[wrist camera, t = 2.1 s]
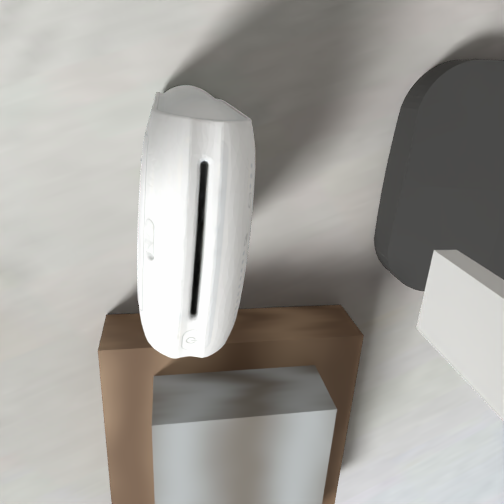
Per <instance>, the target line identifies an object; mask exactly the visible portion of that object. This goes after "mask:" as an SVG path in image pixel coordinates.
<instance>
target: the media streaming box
mask: <svg viewBox="0 0 504 504" xmlns="http://www.w3.org/2000/svg"><path fill="white" fill-rule="evenodd" d="M374 244H375V250H376V253H377V256H378V258H379V260H380V262H381V263H382V264H383V266H384V267H385V268H386V269H387V270H388V271H390V272H391V273H392V274H393V275H394V276H395V277H396V278H397V279H398V280H400V281H401V282H402V283H403V284H405V285H406V286H408V287H410V288H413V289H415V290H419V291H425V287H426V283H427V278H428V274H429V269H430V265H431V260H432V256H433V252H434V250H458V251H459V252H461V253H463V254H464V255H466V256H467V257H469V258H470V259H472V260H473V261H475V262H477V263H478V264H480V265H481V266H483V267H484V268H486V269H488V270H489V271H491V272H492V273H494V274H495V275H497V276H498V277H500V278H502V279H503V280H504V60H481V59H473V60H453V61H449V62H445V63H443V64H440V65H438V66H436V67H434V68H433V69H431V70H430V71H428V72H427V73H426V74H424V75H423V76H422V77H421V78H420V79H419V80H418V81H417V82H416V83H415V84H414V86H413V87H412V88H411V90H410V91H409V93H408V94H407V96H406V98H405V100H404V102H403V104H402V106H401V109H400V113H399V117H398V121H397V125H396V129H395V133H394V137H393V141H392V145H391V150H390V154H389V159H388V163H387V168H386V173H385V178H384V183H383V188H382V193H381V199H380V204H379V210H378V216H377V223H376V229H375V237H374Z"/></svg>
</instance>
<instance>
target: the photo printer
mask: <svg viewBox="0 0 504 504" xmlns="http://www.w3.org/2000/svg"><path fill="white" fill-rule="evenodd" d="M254 183H255V140H254V132H253V125H252V120H251V119H250V118H249V117H248V116H246V115H245V114H243V113H242V112H241V111H239V110H238V109H236V108H235V107H233V106H232V105H230V104H229V103H227V102H225V101H224V100H222V99H216V98H214V97H213V96H212V95H210V94H209V93H208V92H206V91H204V90H203V89H201V88H198V87H196V86H191V85H181V86H176V87H173V88H171V89H169V90H168V91H166V92H165V93H160V92H157V93H156V94H155V98H154V101H153V105H152V109H151V113H150V116H149V120H148V124H147V128H146V132H145V136H144V142H143V150H142V158H141V172H140V188H139V208H138V238H137V291H138V304H139V311H140V318H141V323H142V326H143V330H144V333H145V336H146V339H147V340H148V342H149V343H150V344H151V346H152V347H153V348H154V349H155V350H157V351H158V352H160V353H161V354H163V355H165V356H167V357H170V358H181V357H186V356H194V357H200V358H204V357H208V356H210V355H212V354H214V353H215V352H217V351H218V350H219V349H221V348H222V347H223V345H224V344H225V343H226V341H227V339H228V337H229V335H230V333H231V330H232V328H233V326H234V323H235V320H236V317H237V313H238V309H239V304H240V299H241V294H242V289H243V283H244V277H245V271H246V264H247V257H248V249H249V240H250V232H251V221H252V211H253V198H254Z"/></svg>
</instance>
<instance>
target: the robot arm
mask: <svg viewBox="0 0 504 504" xmlns="http://www.w3.org/2000/svg"><path fill="white" fill-rule="evenodd" d="M416 329H417V330H418V331H419V332H420V333H421V334H422V335H423V336H424V337H425V338H426V340H427V341H428V342H429V343H430V344H431V345H432V346H433V347H434V348H435V349H436V350H437V351H438V352H439V353H440V354H441V356H442V357H443V358H444V359H445V360H446V361H447V362H448V363H449V364H450V365H451V366H452V367H453V368H454V369H455V371H456V372H457V373H458V374H459V375H460V376H461V377H462V378H463V379H464V380H465V381H466V382H467V383H468V384H469V385H470V387H471V388H472V389H473V390H474V391H475V392H476V393H477V394H478V395H479V396H480V397H481V398H482V399H483V400H484V401H485V403H486V404H487V405H488V406H489V407H490V408H491V409H492V410H493V411H494V412H495V413H496V414H497V415H498V416H499V418H500V419H501V420H502V421H503V422H504V280H503V279H502V278H500V277H498V276H497V275H495V274H494V273H492V272H491V271H489V270H488V269H486V268H484V267H483V266H481V265H480V264H478V263H477V262H475V261H473V260H472V259H470V258H469V257H467V256H466V255H464V254H463V253H461V252H459V251H458V250H434V252H433V256H432V260H431V265H430V269H429V274H428V278H427V283H426V287H425V291H424V296H423V300H422V305H421V309H420V313H419V318H418V322H417V327H416Z"/></svg>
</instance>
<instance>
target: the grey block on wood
mask: <svg viewBox="0 0 504 504" xmlns="http://www.w3.org/2000/svg"><path fill="white" fill-rule="evenodd" d="M363 337H364V335H363V334H362V333H361V331H360V330H359V329H358V327H357V326H356V325H355V323H354V322H353V321H352V319H351V318H350V316H349V315H348V314H347V312H346V311H345V310H344V308H343V307H342V306H341V305H324V306H300V307H276V308H252V309H238V313H237V317H236V320H235V323H234V326H233V328H232V330H231V333H230V335H229V337H228V339H227V341H226V343H225V344H224V345H223V347H222V348H221V349H219V350H218V351H217V352H215V353H214V354H212V355H210V356H208V357H204V358H200V357H194V356H186V357H181V358H170V357H167V356H165V355H163V354H161V353H160V352H158V351H157V350H155V349H154V348H153V347H152V346H151V344H150V343H149V342H148V340H147V339H146V336H145V333H144V330H143V326H142V323H141V318H140V313H134V314H110V315H106V319H105V323H104V327H103V331H102V336H101V340H100V344H99V348H98V357H99V368H100V379H101V390H102V401H103V412H104V423H105V434H106V445H107V456H108V467H109V478H110V490H111V501H112V504H334V503H335V498H336V492H337V486H338V480H339V475H340V469H341V463H342V457H343V452H344V446H345V440H346V434H347V429H348V423H349V417H350V412H351V406H352V400H353V394H354V389H355V383H356V377H357V371H358V366H359V360H360V354H361V348H362V343H363Z"/></svg>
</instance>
